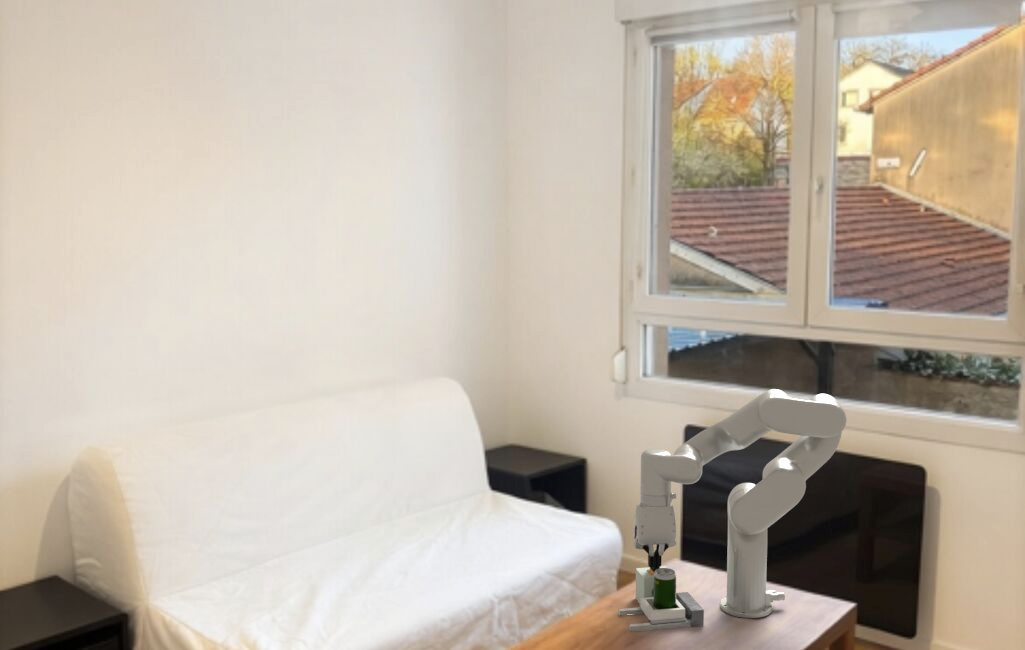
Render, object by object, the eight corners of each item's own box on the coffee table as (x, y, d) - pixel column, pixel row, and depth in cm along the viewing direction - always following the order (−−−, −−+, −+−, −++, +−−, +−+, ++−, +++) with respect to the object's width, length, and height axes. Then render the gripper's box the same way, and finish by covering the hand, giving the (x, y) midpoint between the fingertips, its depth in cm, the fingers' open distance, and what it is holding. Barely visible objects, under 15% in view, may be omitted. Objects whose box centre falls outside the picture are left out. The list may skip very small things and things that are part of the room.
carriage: (671, 603, 243) (671, 593, 242) (686, 620, 232) (686, 610, 232) (639, 606, 241) (639, 596, 241) (652, 623, 231) (652, 613, 230)
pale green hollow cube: (665, 595, 251) (665, 565, 250) (675, 607, 244) (675, 576, 243) (635, 598, 250) (635, 568, 249) (644, 610, 242) (644, 579, 241)
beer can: (663, 625, 233) (664, 577, 232) (648, 617, 238) (649, 570, 236) (680, 620, 236) (680, 572, 235) (665, 612, 241) (665, 566, 239)
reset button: (658, 576, 248) (658, 566, 248) (662, 580, 245) (662, 571, 245) (647, 577, 247) (647, 567, 247) (651, 581, 244) (651, 572, 244)
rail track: (687, 607, 244) (687, 592, 243) (703, 625, 233) (703, 609, 232) (618, 613, 241) (618, 597, 240) (631, 632, 230) (631, 616, 229)
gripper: (678, 492, 249) (677, 562, 251) (622, 496, 246) (621, 566, 248) (689, 501, 241) (688, 572, 243) (631, 505, 239) (630, 577, 241)
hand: (654, 569), depth 246 cm, fingers closed
